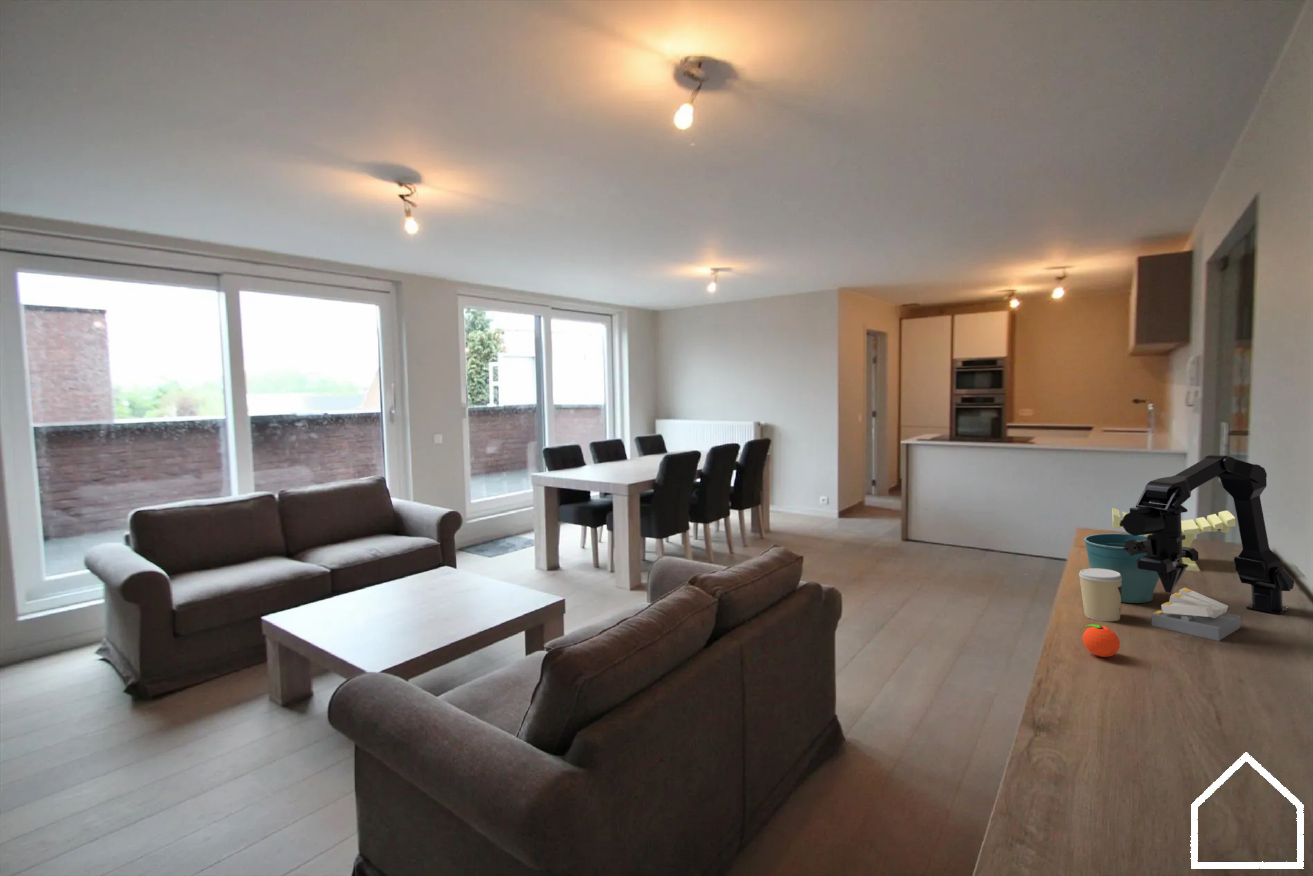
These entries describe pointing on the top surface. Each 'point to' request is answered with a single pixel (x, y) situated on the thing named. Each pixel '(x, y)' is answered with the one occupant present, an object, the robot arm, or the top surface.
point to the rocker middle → (1187, 600)
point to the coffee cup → (1101, 593)
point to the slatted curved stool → (1191, 529)
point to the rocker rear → (1204, 599)
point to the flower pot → (1122, 565)
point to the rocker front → (1187, 609)
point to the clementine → (1101, 640)
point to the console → (1198, 624)
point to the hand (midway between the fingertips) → (1168, 592)
